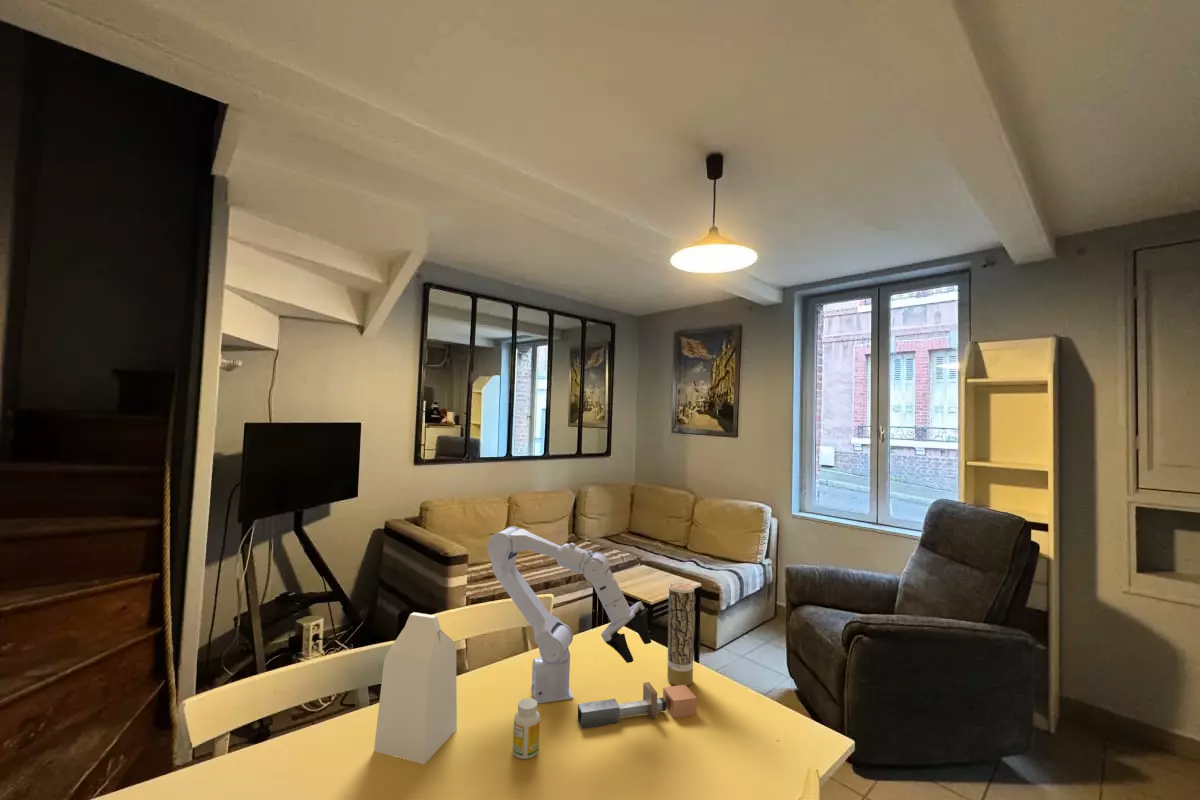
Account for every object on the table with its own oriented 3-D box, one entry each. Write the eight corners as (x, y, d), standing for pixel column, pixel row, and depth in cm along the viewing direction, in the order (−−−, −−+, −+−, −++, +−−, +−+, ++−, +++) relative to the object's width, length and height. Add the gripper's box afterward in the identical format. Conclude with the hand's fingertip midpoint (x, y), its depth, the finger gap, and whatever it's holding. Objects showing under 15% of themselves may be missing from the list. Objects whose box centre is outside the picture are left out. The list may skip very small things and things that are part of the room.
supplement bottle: (511, 760, 96) (513, 711, 96) (513, 743, 101) (515, 696, 102) (538, 759, 96) (540, 710, 97) (539, 742, 102) (540, 695, 102)
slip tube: (590, 727, 106) (591, 702, 107) (585, 714, 111) (585, 690, 111) (668, 715, 112) (669, 691, 112) (660, 703, 116) (660, 680, 117)
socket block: (673, 718, 111) (673, 700, 112) (662, 704, 117) (663, 687, 117) (696, 715, 113) (696, 697, 113) (684, 701, 119) (685, 684, 119)
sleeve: (581, 729, 106) (581, 712, 107) (577, 719, 110) (578, 703, 110) (619, 723, 109) (619, 707, 109) (614, 714, 112) (614, 698, 113)
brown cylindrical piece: (685, 690, 124) (687, 592, 125) (662, 681, 128) (664, 586, 129) (697, 680, 129) (698, 586, 131) (674, 672, 133) (676, 581, 135)
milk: (456, 729, 105) (462, 609, 107) (424, 764, 94) (431, 629, 96) (410, 719, 108) (416, 602, 110) (373, 751, 97) (381, 621, 99)
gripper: (604, 613, 111) (632, 669, 109) (640, 583, 122) (666, 633, 120) (586, 618, 116) (613, 671, 113) (623, 588, 126) (647, 636, 124)
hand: (639, 652), depth 117 cm, fingers open, 7 cm apart
